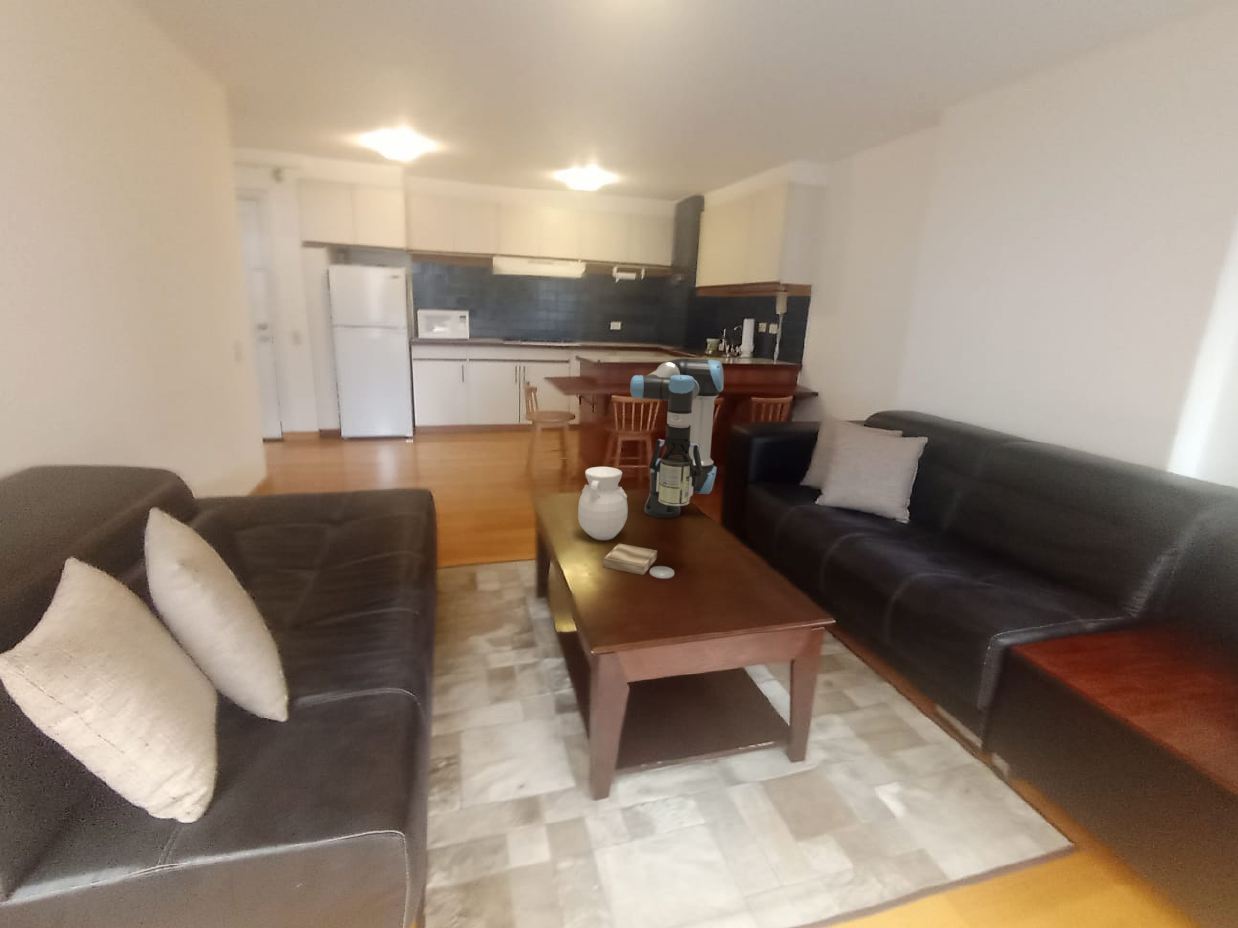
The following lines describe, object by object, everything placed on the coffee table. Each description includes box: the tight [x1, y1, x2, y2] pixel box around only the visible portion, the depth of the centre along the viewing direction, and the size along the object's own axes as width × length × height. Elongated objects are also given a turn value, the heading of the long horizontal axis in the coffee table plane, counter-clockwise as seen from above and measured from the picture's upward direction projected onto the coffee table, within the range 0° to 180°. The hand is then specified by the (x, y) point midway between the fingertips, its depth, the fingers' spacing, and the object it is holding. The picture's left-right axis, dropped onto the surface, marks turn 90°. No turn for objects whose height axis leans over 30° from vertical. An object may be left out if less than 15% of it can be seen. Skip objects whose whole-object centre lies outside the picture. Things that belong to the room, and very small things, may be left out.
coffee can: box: [658, 454, 693, 507], centre depth 185 cm, size 10×10×14 cm
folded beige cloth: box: [602, 543, 658, 576], centre depth 194 cm, size 14×14×3 cm
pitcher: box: [577, 466, 629, 541], centre depth 213 cm, size 19×18×25 cm
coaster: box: [649, 565, 675, 579], centre depth 187 cm, size 8×8×1 cm
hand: (674, 492), depth 186 cm, fingers closed on coffee can, 10 cm apart
